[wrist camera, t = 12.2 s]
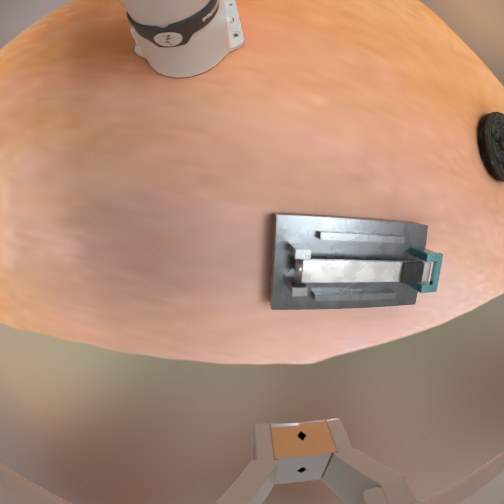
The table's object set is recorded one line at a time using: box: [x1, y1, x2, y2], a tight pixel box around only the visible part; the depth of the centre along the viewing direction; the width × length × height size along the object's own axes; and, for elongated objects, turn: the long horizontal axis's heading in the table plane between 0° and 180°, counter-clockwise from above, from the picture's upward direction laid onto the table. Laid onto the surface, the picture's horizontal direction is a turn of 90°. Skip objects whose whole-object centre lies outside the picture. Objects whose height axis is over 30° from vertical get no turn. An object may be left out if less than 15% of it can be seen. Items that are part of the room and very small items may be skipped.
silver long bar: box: [294, 259, 431, 283], centre depth 36 cm, size 3×23×2 cm, turn 88°
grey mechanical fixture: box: [269, 213, 443, 310], centre depth 39 cm, size 14×27×8 cm, turn 88°
